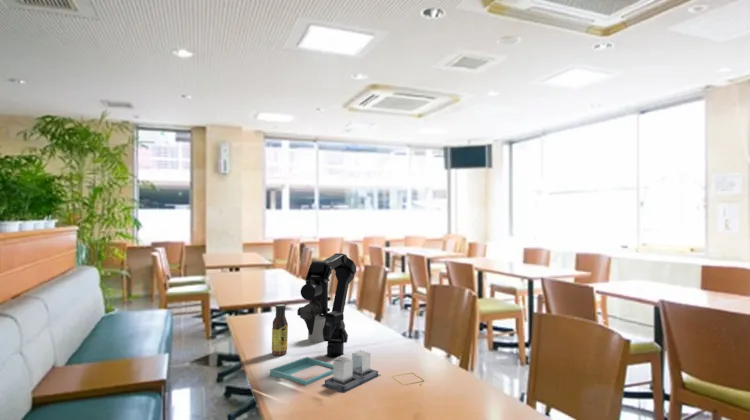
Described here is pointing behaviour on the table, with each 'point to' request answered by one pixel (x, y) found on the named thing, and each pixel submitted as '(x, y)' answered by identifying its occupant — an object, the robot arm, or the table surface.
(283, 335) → the sauce bottle
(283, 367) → the teal tray
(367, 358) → the block
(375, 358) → the table surface
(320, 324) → the cup
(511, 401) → the table surface
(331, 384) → the dark grey tray
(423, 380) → the yellow square frame
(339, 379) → the billet
